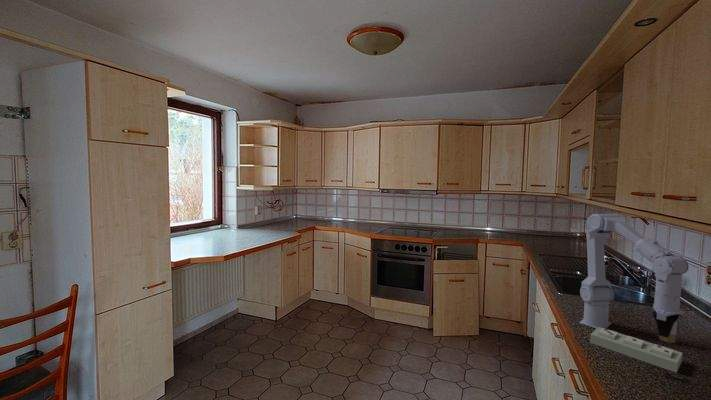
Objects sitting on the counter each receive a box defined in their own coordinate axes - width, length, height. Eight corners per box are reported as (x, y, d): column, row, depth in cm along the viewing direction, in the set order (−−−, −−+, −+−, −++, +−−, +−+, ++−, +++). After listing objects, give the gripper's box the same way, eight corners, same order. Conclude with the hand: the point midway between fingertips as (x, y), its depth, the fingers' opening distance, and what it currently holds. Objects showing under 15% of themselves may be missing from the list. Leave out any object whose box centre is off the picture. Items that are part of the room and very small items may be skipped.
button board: (598, 334, 120) (598, 326, 120) (681, 361, 103) (682, 352, 103) (589, 342, 115) (590, 334, 115) (676, 372, 98) (677, 363, 97)
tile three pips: (602, 333, 117) (602, 327, 117) (617, 338, 114) (618, 332, 114) (598, 337, 115) (598, 331, 114) (613, 342, 111) (614, 335, 111)
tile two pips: (654, 349, 106) (655, 343, 106) (673, 355, 103) (673, 349, 103) (651, 354, 104) (651, 347, 103) (670, 360, 100) (671, 354, 100)
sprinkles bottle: (658, 335, 120) (661, 300, 118) (675, 340, 116) (679, 303, 115) (658, 340, 116) (661, 303, 115) (676, 345, 113) (679, 307, 112)
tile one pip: (627, 341, 112) (627, 334, 112) (643, 346, 108) (644, 340, 108) (623, 345, 109) (624, 339, 109) (640, 351, 106) (641, 344, 105)
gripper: (681, 303, 94) (677, 349, 95) (689, 292, 103) (685, 333, 104) (649, 296, 99) (645, 339, 101) (659, 286, 108) (655, 325, 110)
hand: (663, 335), depth 103 cm, fingers closed
